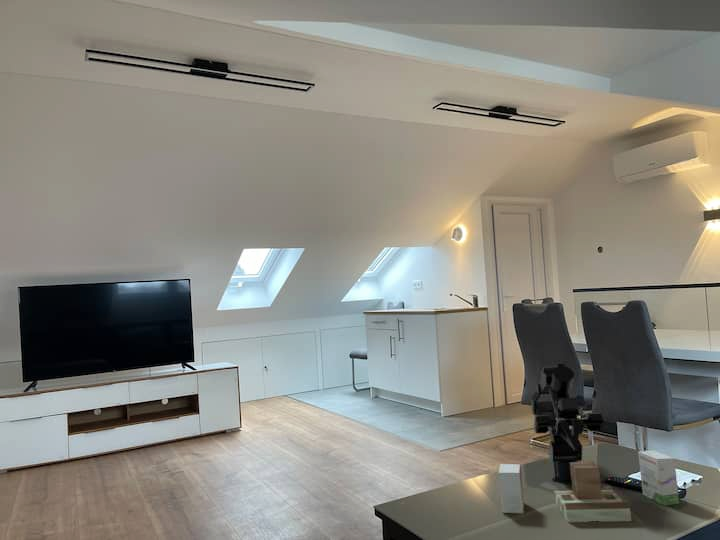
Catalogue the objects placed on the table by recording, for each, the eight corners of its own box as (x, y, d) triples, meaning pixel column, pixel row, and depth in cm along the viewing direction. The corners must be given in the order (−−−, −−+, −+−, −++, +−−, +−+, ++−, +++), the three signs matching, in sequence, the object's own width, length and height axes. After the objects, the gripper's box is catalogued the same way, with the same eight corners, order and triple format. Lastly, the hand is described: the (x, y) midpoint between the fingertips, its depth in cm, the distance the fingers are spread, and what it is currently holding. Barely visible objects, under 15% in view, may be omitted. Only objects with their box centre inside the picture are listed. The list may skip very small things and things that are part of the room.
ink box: (680, 504, 135) (675, 457, 136) (663, 506, 135) (657, 459, 135) (658, 492, 144) (653, 449, 144) (642, 494, 143) (637, 450, 144)
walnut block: (572, 492, 140) (569, 462, 141) (596, 492, 139) (592, 461, 140) (577, 499, 135) (574, 468, 136) (602, 499, 134) (598, 467, 135)
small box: (523, 514, 136) (519, 473, 137) (501, 513, 138) (497, 472, 138) (524, 502, 144) (520, 463, 144) (503, 501, 145) (499, 463, 146)
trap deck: (555, 502, 142) (553, 485, 142) (613, 501, 140) (611, 483, 140) (567, 522, 129) (565, 503, 130) (631, 521, 127) (629, 502, 128)
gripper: (532, 387, 152) (543, 435, 141) (598, 384, 150) (616, 432, 138) (529, 409, 160) (540, 456, 148) (593, 406, 157) (609, 454, 145)
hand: (576, 449), depth 145 cm, fingers closed
